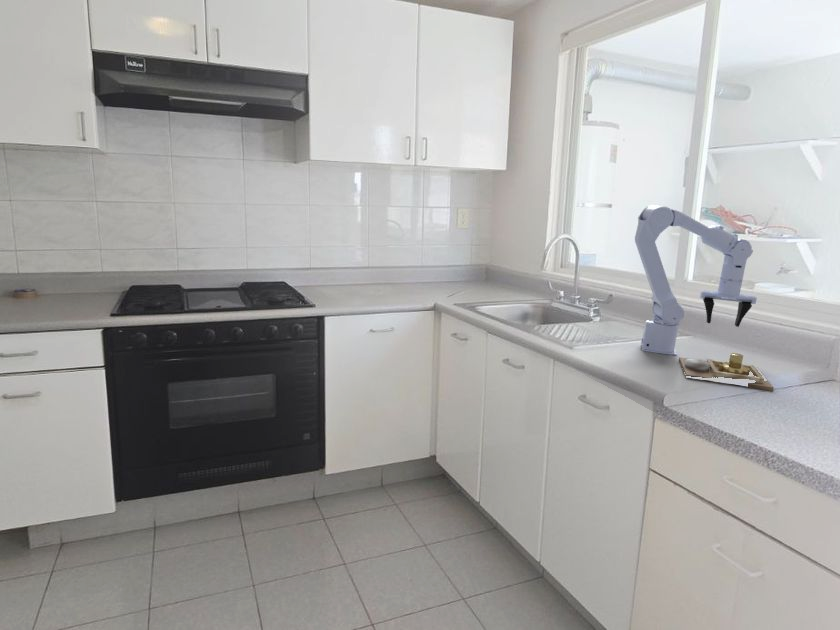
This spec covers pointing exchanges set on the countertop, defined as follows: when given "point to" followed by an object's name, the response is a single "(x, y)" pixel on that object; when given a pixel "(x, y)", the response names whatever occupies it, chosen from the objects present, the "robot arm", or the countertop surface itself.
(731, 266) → the robot arm
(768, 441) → the countertop surface
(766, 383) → the carrier board
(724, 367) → the planet gear
